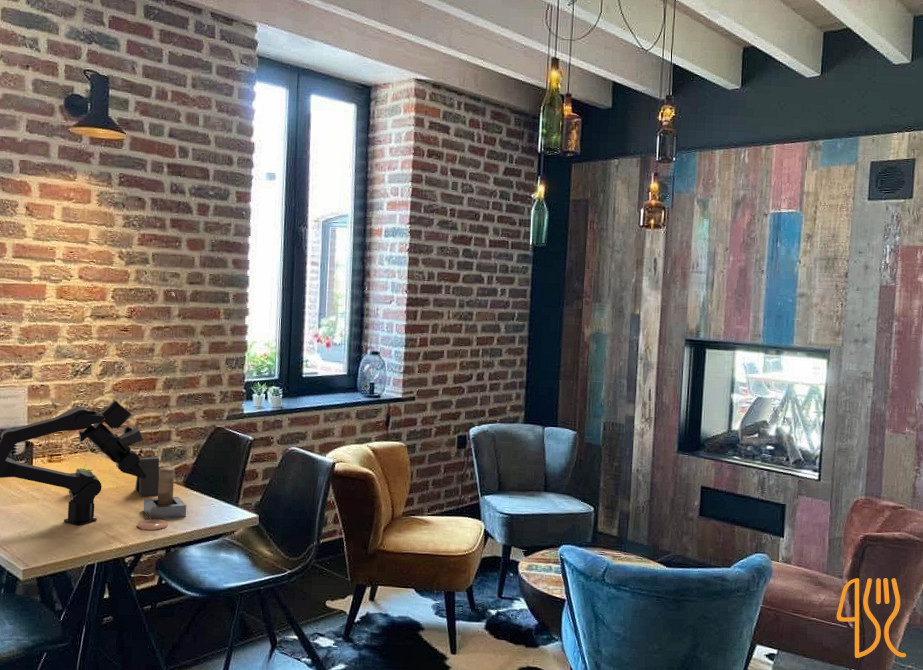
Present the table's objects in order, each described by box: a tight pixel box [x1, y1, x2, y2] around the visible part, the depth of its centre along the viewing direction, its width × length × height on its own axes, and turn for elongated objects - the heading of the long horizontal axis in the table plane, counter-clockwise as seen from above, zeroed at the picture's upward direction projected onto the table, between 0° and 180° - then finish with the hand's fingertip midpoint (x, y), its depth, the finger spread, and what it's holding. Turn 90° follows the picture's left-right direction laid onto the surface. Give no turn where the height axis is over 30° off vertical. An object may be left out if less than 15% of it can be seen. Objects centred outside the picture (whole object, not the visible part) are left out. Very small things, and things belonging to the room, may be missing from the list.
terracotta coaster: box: [136, 519, 169, 531], centre depth 232 cm, size 8×8×1 cm
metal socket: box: [143, 496, 187, 520], centre depth 245 cm, size 10×10×4 cm
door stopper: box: [134, 456, 160, 497], centre depth 265 cm, size 9×6×12 cm, turn 33°
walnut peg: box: [157, 466, 175, 506], centre depth 244 cm, size 4×4×14 cm
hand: (142, 473), depth 240 cm, fingers open, 9 cm apart
